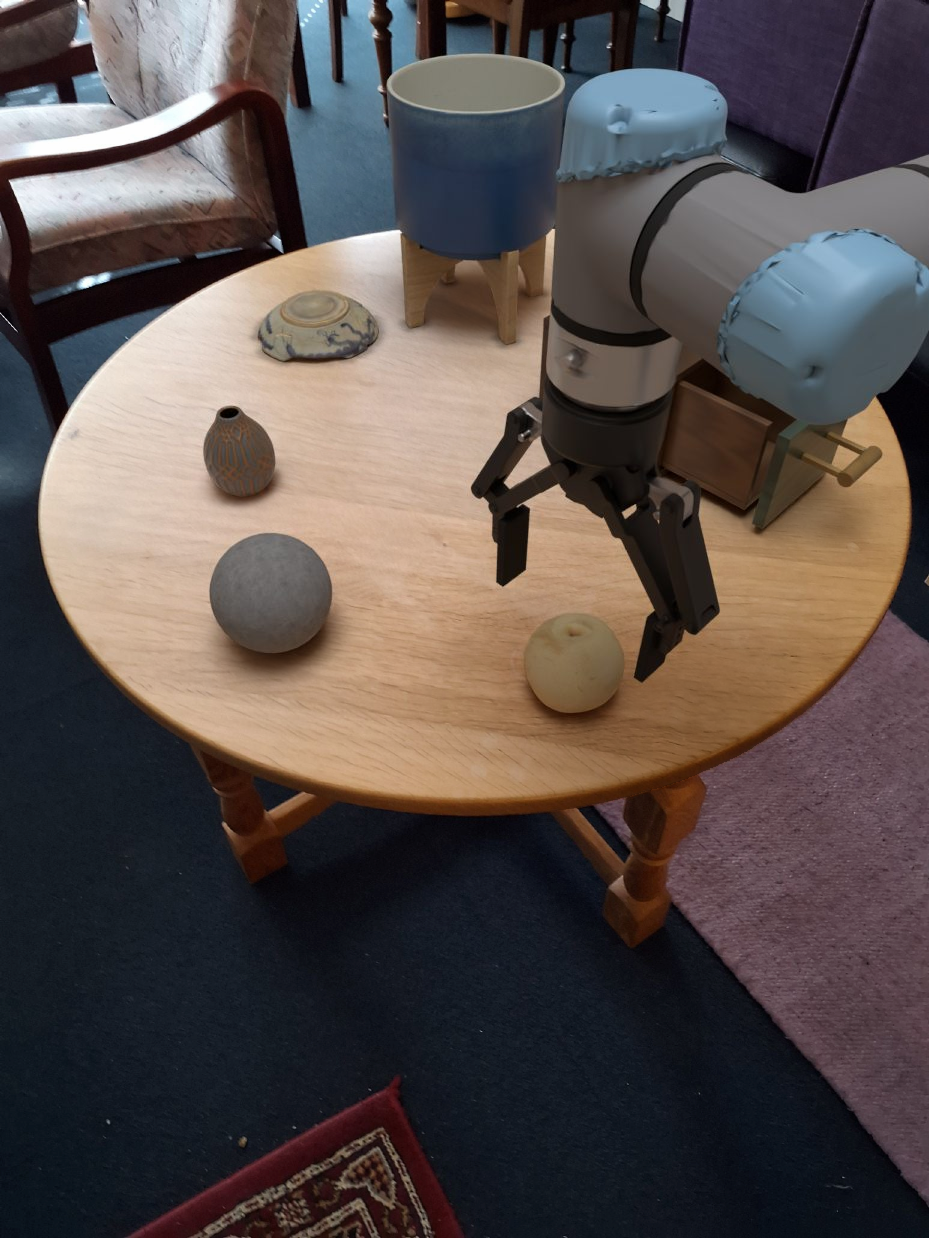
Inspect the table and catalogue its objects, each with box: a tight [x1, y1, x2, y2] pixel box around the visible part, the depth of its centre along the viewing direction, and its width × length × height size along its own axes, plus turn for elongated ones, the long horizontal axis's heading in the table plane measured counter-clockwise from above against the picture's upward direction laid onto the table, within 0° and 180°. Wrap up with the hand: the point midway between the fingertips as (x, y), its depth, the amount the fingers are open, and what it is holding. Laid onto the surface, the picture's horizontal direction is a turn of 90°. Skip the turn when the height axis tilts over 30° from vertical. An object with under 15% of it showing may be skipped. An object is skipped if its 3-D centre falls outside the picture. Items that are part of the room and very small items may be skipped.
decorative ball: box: [208, 532, 333, 654], centre depth 74 cm, size 10×10×10 cm
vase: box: [202, 405, 276, 497], centre depth 89 cm, size 7×7×9 cm
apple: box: [523, 612, 626, 714], centre depth 71 cm, size 8×8×8 cm
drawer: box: [661, 362, 883, 530], centre depth 86 cm, size 20×13×10 cm, turn 45°
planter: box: [386, 53, 566, 345], centre depth 106 cm, size 19×19×26 cm
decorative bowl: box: [257, 289, 379, 363], centre depth 111 cm, size 15×4×15 cm
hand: (576, 621), depth 68 cm, fingers open, 13 cm apart
